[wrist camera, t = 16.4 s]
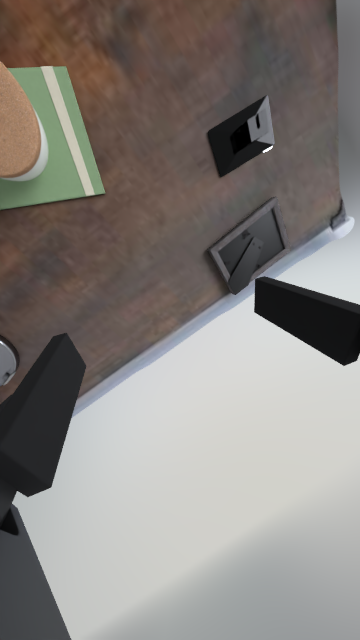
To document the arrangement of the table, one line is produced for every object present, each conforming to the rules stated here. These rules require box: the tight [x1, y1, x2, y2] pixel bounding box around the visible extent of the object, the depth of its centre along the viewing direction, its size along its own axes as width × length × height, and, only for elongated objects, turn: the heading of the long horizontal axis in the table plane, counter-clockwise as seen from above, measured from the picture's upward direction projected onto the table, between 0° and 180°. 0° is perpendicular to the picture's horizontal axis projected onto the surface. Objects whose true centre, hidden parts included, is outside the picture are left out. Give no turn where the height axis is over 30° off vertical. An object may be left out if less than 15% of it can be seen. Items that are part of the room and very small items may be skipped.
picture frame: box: [207, 196, 291, 295], centre depth 42 cm, size 13×2×18 cm
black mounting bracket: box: [208, 95, 275, 177], centre depth 31 cm, size 12×7×5 cm, turn 118°
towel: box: [0, 66, 105, 210], centre depth 25 cm, size 20×14×1 cm
